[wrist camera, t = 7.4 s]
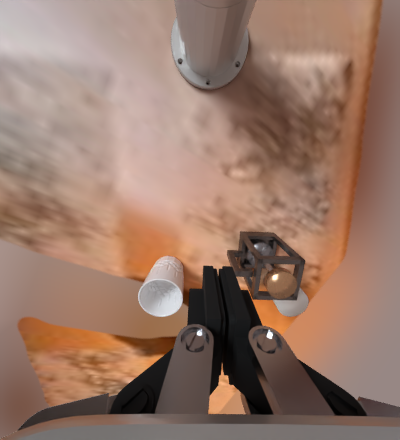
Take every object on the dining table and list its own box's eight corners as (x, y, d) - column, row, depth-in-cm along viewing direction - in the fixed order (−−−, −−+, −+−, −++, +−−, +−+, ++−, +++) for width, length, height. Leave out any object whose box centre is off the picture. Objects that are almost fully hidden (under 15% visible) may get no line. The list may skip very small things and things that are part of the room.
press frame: (226, 230, 41) (238, 258, 29) (273, 232, 41) (305, 260, 29) (223, 261, 43) (234, 298, 31) (268, 262, 43) (296, 300, 31)
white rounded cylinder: (265, 267, 43) (279, 289, 36) (291, 268, 44) (311, 290, 36) (261, 290, 45) (275, 316, 37) (286, 291, 45) (305, 316, 38)
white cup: (193, 266, 43) (192, 295, 34) (171, 290, 45) (164, 324, 35) (165, 246, 42) (155, 270, 32) (144, 271, 43) (129, 301, 34)
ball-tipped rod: (248, 241, 38) (267, 270, 28) (273, 242, 38) (302, 271, 28) (245, 264, 40) (262, 300, 29) (270, 265, 40) (296, 301, 29)
